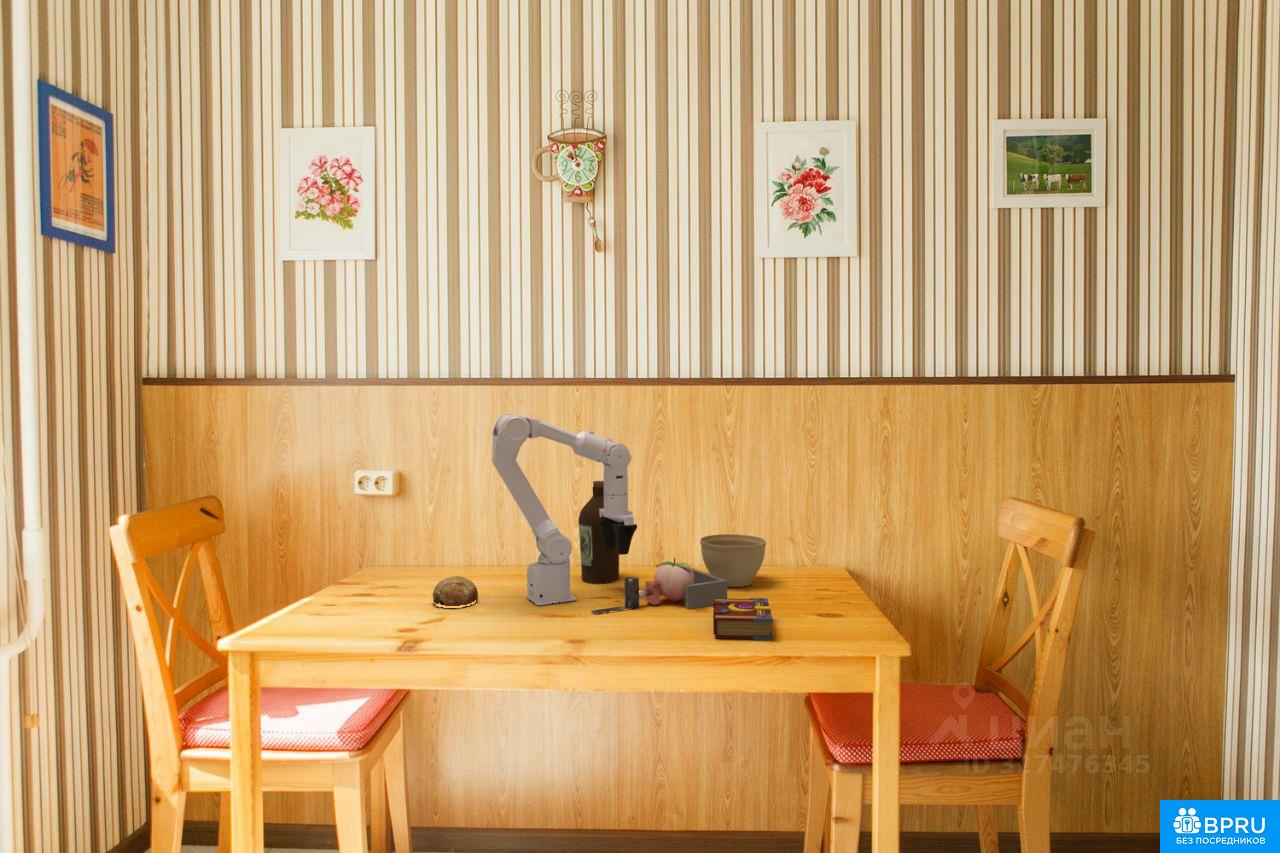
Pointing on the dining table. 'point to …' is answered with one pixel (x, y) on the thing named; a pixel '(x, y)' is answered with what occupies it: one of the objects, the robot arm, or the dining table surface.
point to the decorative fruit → (673, 579)
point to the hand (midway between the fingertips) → (616, 551)
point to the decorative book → (742, 619)
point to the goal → (704, 590)
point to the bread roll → (455, 592)
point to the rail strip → (611, 609)
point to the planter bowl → (733, 557)
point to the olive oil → (596, 542)
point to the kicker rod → (640, 592)
